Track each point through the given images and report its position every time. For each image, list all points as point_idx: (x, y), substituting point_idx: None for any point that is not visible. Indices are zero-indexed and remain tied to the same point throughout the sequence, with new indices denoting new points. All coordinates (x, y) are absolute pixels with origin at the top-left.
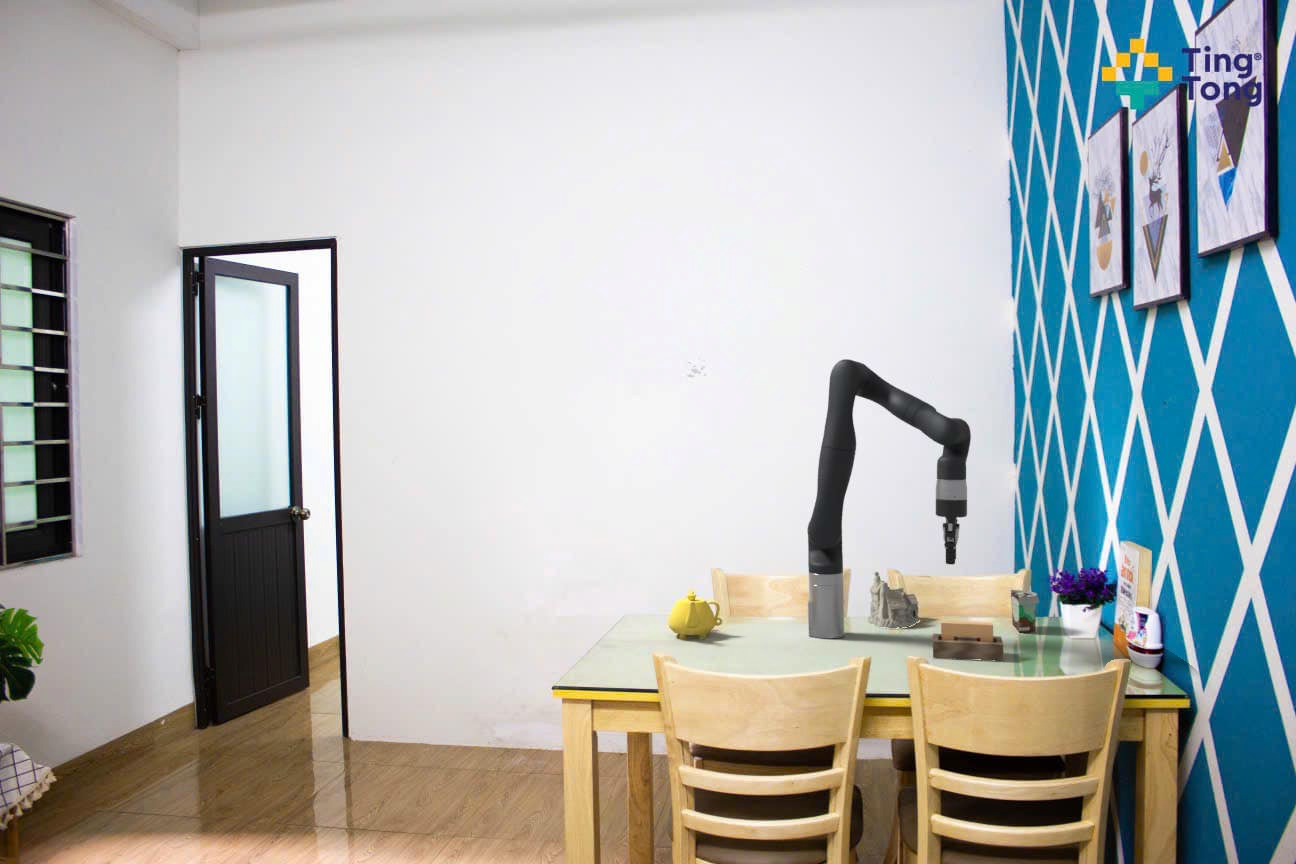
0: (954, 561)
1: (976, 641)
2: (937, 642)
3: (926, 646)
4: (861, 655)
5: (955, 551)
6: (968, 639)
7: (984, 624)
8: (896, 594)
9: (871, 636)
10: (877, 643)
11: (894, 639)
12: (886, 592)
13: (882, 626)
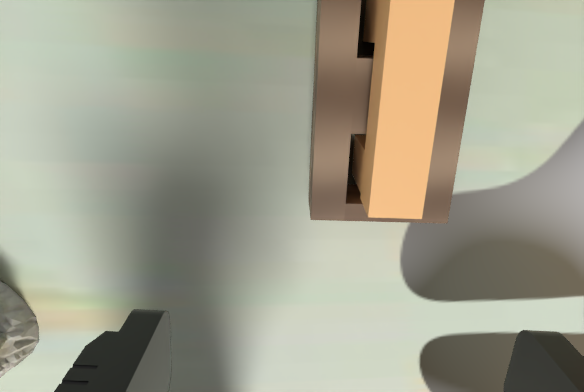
0: (572, 349)
1: None
2: (448, 207)
3: (267, 219)
4: (414, 381)
5: (138, 378)
6: None
7: (445, 25)
8: None
9: None
10: (257, 351)
11: (189, 310)
12: None
13: (31, 350)
